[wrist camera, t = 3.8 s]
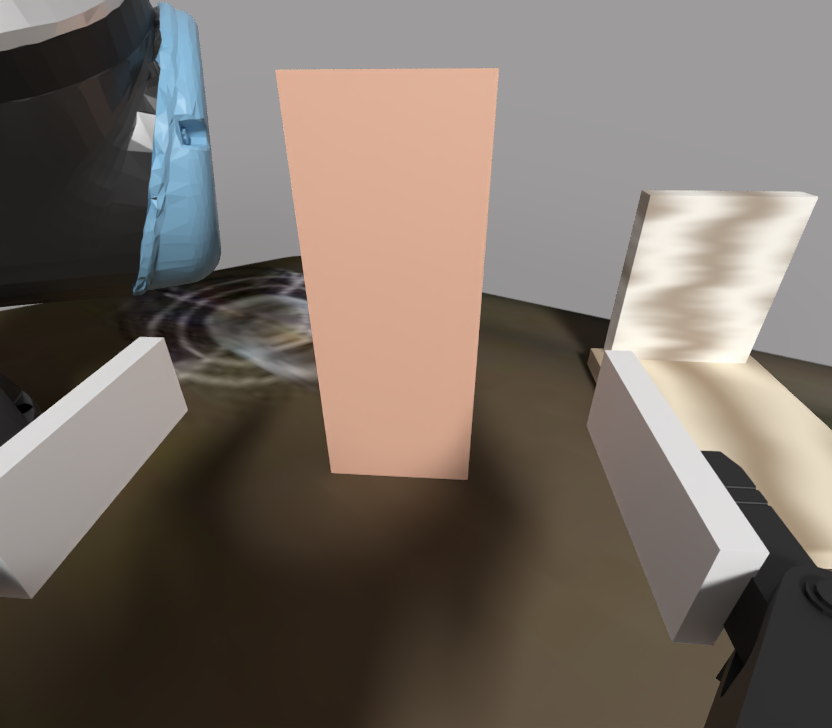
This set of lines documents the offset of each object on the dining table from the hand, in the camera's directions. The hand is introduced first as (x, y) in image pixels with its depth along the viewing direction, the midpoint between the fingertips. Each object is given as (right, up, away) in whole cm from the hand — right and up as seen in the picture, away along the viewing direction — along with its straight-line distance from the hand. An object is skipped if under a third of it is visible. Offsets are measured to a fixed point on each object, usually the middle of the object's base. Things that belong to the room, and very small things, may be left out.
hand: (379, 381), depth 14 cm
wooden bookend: (+20, -4, +15) cm, 26 cm away
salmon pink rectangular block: (0, -5, +15) cm, 16 cm away
